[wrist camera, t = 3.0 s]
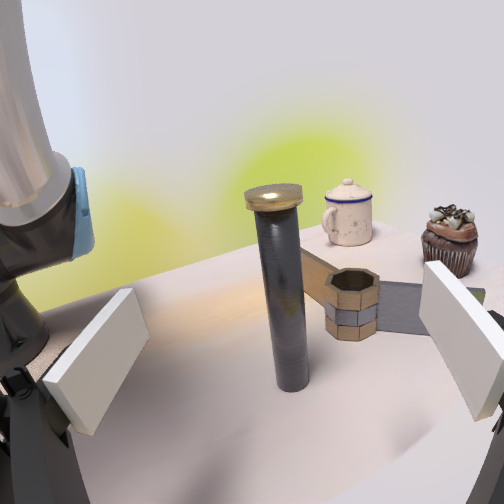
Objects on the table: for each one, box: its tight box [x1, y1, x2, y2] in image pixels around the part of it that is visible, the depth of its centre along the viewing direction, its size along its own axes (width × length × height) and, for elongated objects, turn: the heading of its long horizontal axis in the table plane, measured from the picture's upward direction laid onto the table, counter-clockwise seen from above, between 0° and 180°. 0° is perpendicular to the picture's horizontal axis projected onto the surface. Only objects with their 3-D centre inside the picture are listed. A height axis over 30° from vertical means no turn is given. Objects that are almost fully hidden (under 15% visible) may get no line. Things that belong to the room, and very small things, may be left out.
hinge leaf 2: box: [325, 281, 486, 335], centre depth 31 cm, size 18×6×6 cm, turn 62°
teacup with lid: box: [322, 179, 372, 246], centre depth 57 cm, size 12×9×12 cm
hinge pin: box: [244, 184, 308, 392], centre depth 25 cm, size 4×4×18 cm
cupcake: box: [421, 204, 478, 279], centre depth 41 cm, size 10×10×10 cm
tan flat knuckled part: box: [300, 247, 380, 341], centre depth 39 cm, size 18×6×6 cm, turn 22°
